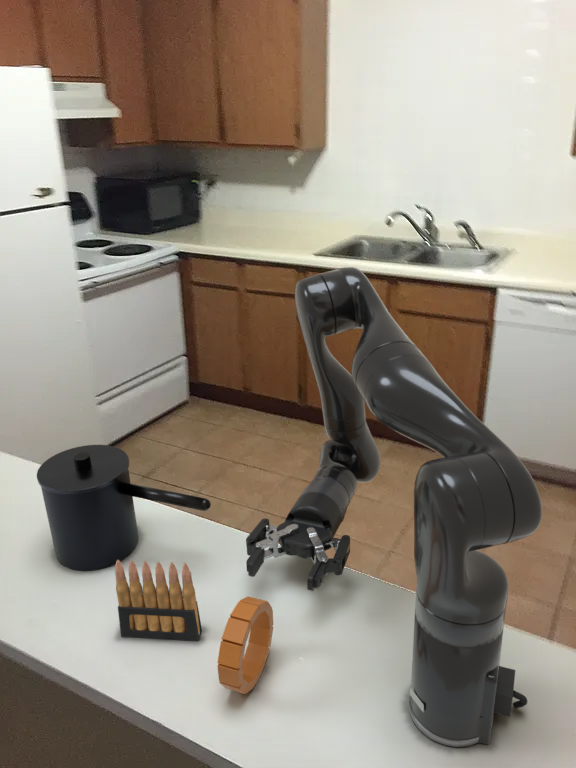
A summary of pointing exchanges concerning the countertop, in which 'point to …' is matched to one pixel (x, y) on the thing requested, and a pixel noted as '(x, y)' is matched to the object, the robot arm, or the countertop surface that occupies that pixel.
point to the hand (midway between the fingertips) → (279, 578)
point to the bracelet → (230, 660)
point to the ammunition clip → (157, 604)
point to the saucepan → (96, 505)
